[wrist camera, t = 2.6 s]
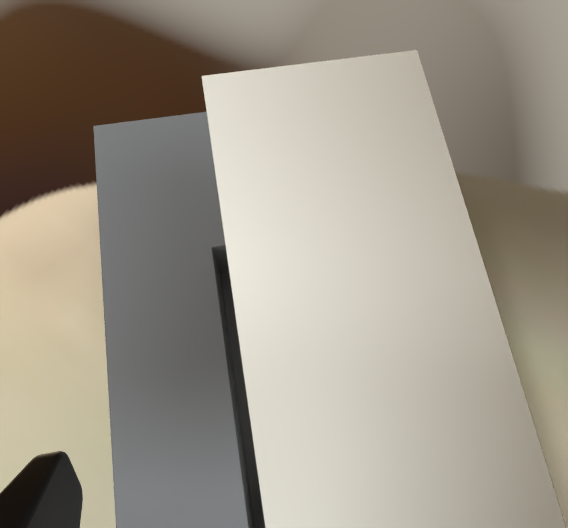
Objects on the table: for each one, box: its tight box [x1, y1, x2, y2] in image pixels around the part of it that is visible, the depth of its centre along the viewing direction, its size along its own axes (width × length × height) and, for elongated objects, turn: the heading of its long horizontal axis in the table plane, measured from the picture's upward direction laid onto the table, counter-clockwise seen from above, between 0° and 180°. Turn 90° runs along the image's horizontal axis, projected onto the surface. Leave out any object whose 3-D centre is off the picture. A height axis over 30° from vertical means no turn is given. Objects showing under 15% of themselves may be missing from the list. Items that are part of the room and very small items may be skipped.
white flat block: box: [202, 50, 566, 528], centre depth 11 cm, size 7×3×11 cm, turn 10°
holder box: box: [94, 112, 265, 528], centre depth 15 cm, size 18×11×4 cm, turn 10°
